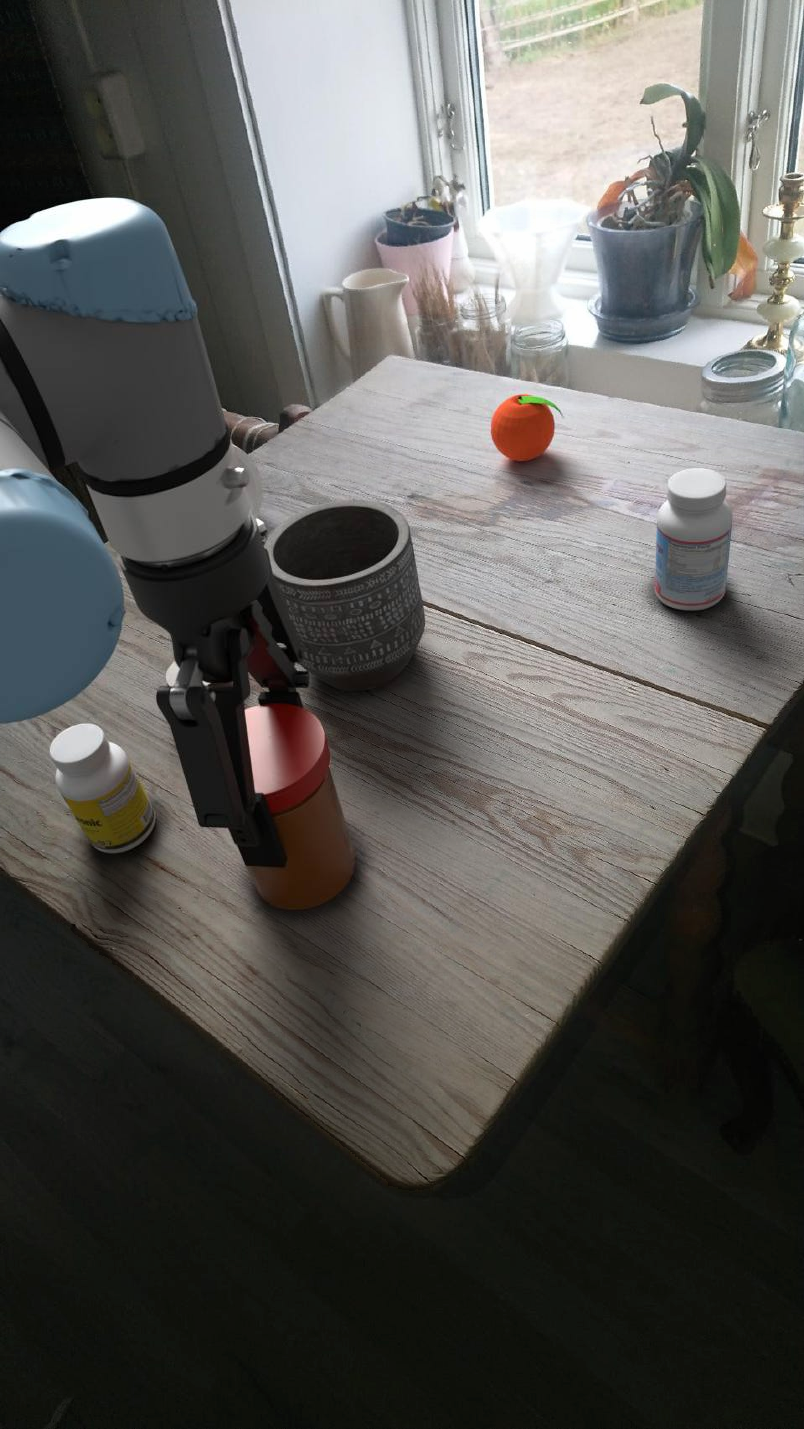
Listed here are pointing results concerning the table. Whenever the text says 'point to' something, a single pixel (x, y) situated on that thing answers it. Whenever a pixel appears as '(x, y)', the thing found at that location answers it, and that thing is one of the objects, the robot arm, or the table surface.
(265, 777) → the jam lid
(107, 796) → the supplement bottle
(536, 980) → the table surface
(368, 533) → the planter
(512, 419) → the clementine
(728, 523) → the pill bottle
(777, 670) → the table surface
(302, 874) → the jam jar
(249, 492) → the headphone stand
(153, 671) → the table surface
